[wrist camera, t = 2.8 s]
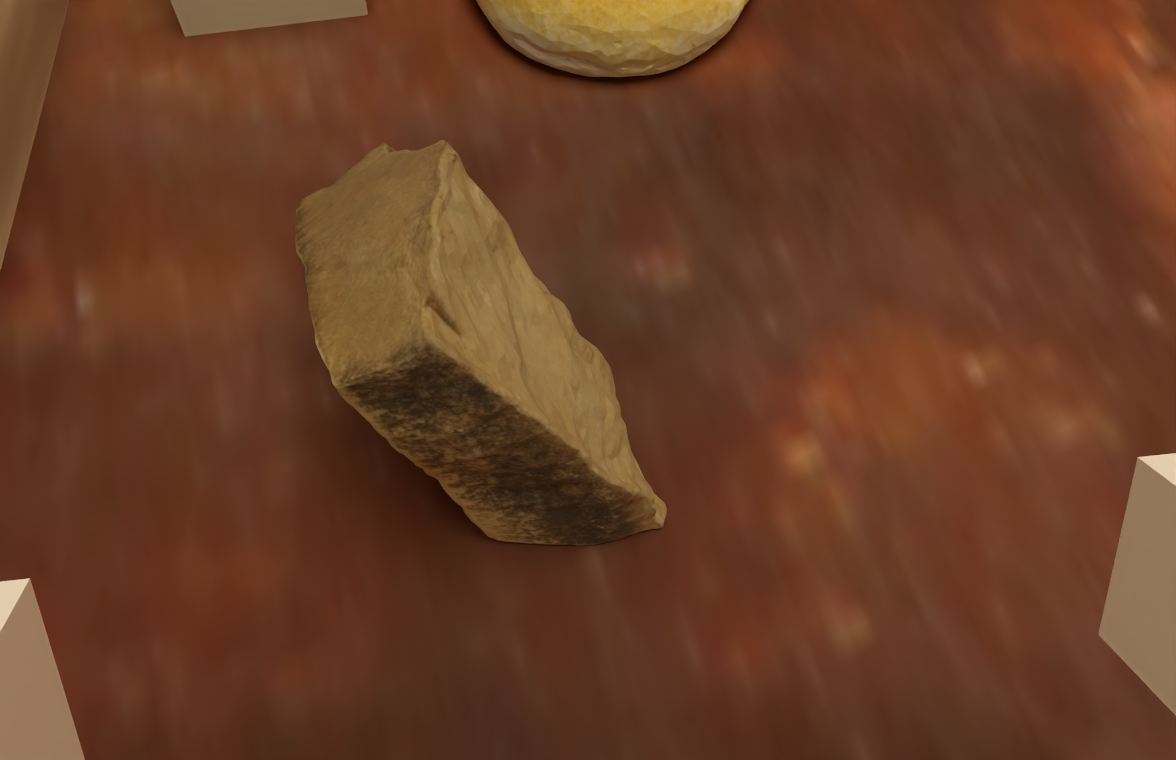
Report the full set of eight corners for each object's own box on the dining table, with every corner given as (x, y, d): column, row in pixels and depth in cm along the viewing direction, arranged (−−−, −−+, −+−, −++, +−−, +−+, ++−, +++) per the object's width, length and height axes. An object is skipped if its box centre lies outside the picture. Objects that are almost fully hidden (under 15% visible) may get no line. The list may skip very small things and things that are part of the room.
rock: (196, 132, 25) (148, 526, 20) (392, -115, 20) (387, 344, 15) (542, 277, 32) (565, 597, 27) (759, 122, 26) (835, 489, 22)
